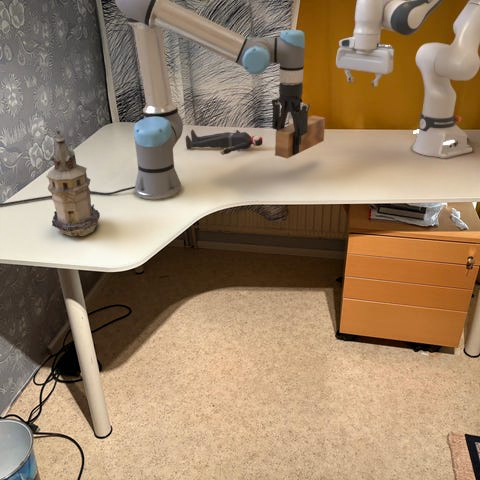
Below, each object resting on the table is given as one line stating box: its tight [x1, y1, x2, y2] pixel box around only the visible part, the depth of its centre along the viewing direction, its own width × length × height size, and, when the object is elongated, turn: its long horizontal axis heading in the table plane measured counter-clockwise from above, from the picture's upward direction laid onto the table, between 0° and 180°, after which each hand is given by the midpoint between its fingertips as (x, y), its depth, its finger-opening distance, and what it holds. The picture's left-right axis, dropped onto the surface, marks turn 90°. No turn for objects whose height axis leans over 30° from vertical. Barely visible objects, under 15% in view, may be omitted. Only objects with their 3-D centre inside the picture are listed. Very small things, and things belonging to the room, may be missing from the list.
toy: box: [185, 129, 264, 156], centre depth 213 cm, size 26×6×30 cm
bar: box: [274, 115, 326, 160], centre depth 184 cm, size 22×5×8 cm, turn 140°
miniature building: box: [46, 129, 101, 237], centre depth 148 cm, size 13×14×30 cm
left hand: (288, 151), depth 181 cm, fingers closed on bar, 5 cm apart
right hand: (362, 84), depth 186 cm, fingers open, 8 cm apart
